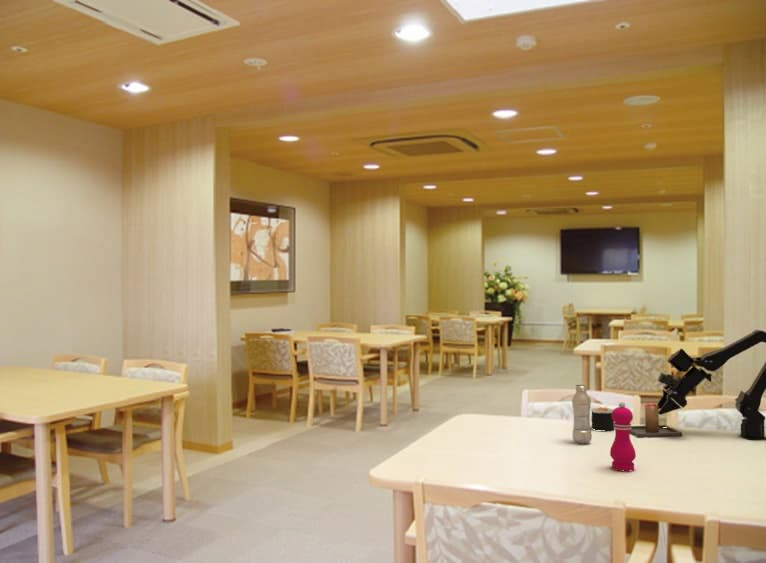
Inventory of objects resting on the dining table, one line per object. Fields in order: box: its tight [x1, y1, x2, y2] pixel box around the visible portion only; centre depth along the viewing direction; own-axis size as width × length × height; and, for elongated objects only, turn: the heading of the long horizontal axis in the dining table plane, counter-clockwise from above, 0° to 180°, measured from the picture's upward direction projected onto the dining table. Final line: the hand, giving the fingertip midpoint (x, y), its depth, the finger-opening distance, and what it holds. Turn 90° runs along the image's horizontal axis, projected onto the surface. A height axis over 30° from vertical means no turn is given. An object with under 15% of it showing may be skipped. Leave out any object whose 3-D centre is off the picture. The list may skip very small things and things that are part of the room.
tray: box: [629, 424, 683, 439], centre depth 240 cm, size 16×12×1 cm
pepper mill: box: [609, 401, 637, 472], centre depth 197 cm, size 7×7×20 cm
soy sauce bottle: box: [644, 402, 660, 433], centre depth 240 cm, size 5×5×10 cm
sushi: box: [590, 406, 615, 432], centre depth 247 cm, size 8×8×8 cm
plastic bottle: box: [571, 384, 593, 444], centre depth 228 cm, size 6×7×20 cm
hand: (657, 411), depth 239 cm, fingers open, 9 cm apart
